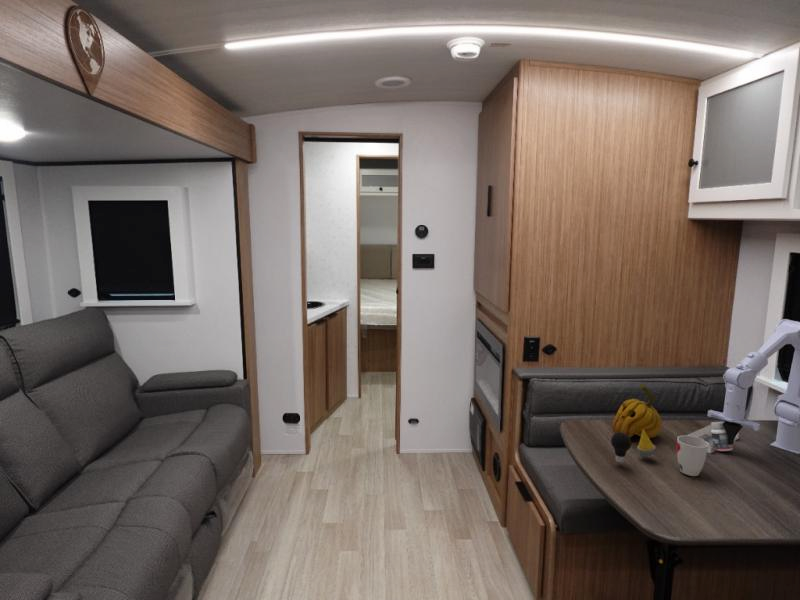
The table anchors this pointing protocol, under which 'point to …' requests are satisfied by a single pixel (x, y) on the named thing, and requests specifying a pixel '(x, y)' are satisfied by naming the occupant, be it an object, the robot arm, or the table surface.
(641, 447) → the yellow cone
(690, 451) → the cup
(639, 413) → the pumpkin
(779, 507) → the table surface
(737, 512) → the table surface
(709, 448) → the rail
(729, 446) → the pill bottle
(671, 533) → the table surface
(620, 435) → the light bulb
